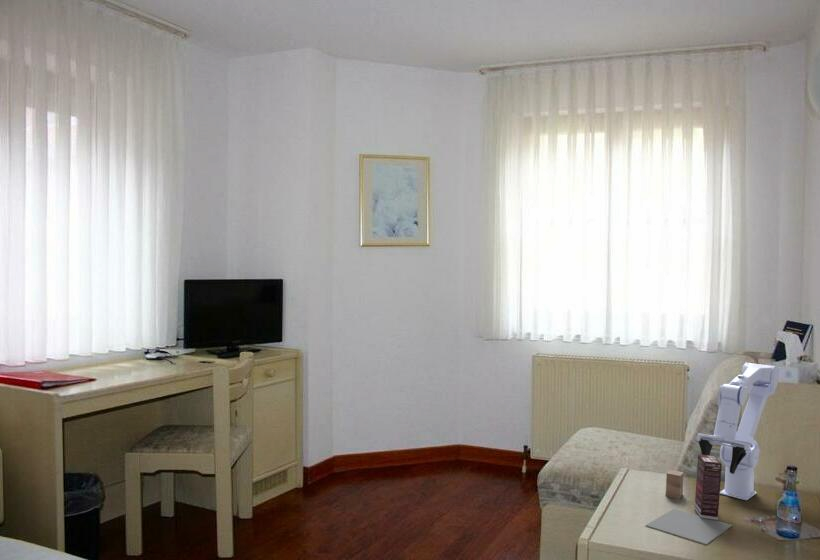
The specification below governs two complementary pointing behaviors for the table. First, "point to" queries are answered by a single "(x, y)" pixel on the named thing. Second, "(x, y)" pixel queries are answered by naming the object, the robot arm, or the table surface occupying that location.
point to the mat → (689, 526)
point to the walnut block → (674, 484)
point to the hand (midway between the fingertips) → (717, 469)
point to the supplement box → (708, 486)
